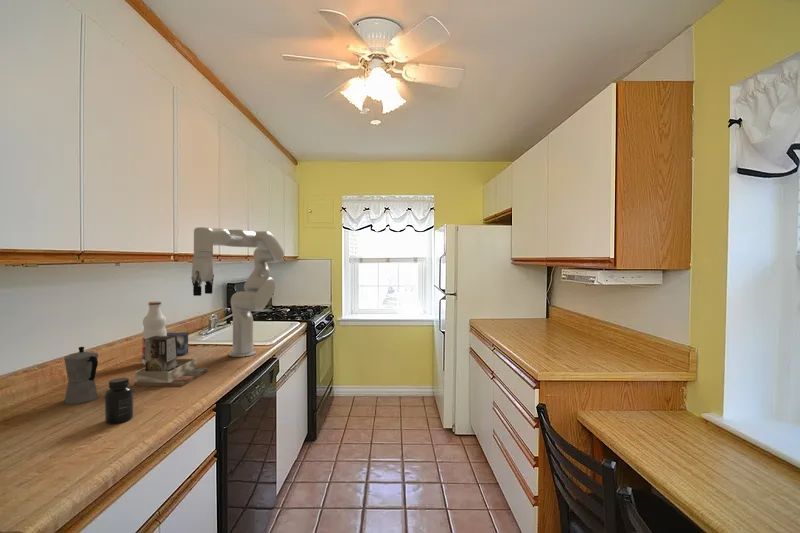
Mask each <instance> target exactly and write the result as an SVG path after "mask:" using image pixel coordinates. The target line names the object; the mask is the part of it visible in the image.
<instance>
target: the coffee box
mask: <svg viewBox="0 0 800 533" xmlns="http://www.w3.org/2000/svg"><path fill="white" fill-rule="evenodd" d="M177 359H178V356H177V336H153V337H150V338H147V339H145V365H144V366H145V367H144V368H145V371H162V372H169V371H171V370H173V369H175V368H177Z"/></svg>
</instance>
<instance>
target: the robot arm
mask: <svg viewBox="0 0 800 533" xmlns="http://www.w3.org/2000/svg"><path fill="white" fill-rule="evenodd" d="M214 246H225V247H232V248H233V247H235V248H255V250H254V251H253V261H254V269H253V271H252V272H251V274H250V275H249V277H247V279H246V281H245V283H244V284H243V285H244V286H243V289H244V291H237V292H235V293H234V294H232V295H231V298H230V306H231V311H232V351H230V352H229V354H228V356H230V357H234V358H241V357H242V358H244V357H245V356H246V357H249V356H251V357H252V356H253V355H256V354H257V350H256V349H254V345H255V343H254V317H253V314H252V312H261V311H263V310H264V309H265V308H266V306H267V305H268V304H269V302H270V300H271V298H272V296H273V295H274V293H275V291H276V284H277V283H276V281H275V279H274V278H273V277H272V276H271V277H270V275H271V270H270V268H269V265H268V263H280V262H282V261H283V260H284V257H285V253H284V252H285V251H284V249H283V248H282V246H281V245H280V243H279V241H278V240H277V239H276V236H274V235H273V233H271V232H270V231H269V230H266V231H265V230H263V231H261V230H258V231H257V230H255V231H254V230H246V229H245V230H244V229H225V228H210V227H194V229H193V259H192V268H191V282H192V286H193V287H192V288H193V289H192V292H193V296H194V297H196V296H197V297H201V296H202V283H203V282H204V283H205V284H204V294H207V295H208V294H211V295H212V294H213V289H214V288H213V287H214V286H213V285H214V280H215V279H214V277H215V274H214V271H213V270H214V265H213V259H214Z"/></svg>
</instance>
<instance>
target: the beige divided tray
mask: <svg viewBox="0 0 800 533" xmlns="http://www.w3.org/2000/svg"><path fill="white" fill-rule="evenodd" d="M197 361H198V360H197V358H177V368H175V369H173V370H171V371H169V372H162V371H145V367H143V368H141V369H139V370H136V371H134V386H135V387H137V386H139V387H183V386H185V385H187V384H189V383H190V382H192V381H194V380H196V379H197V378H199V377H200V376H201V377H202V376H203V375H204V374H206V373H209V367H197V365H198V364H197V363H198V362H197Z"/></svg>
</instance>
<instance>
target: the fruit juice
mask: <svg viewBox="0 0 800 533" xmlns="http://www.w3.org/2000/svg"><path fill="white" fill-rule="evenodd" d="M161 306H162V301H148V307H149V308H148V312H147V314H146V316H144V318H143V319H142V325H143V330H142V335H141V336H142V341H141V342H142V344H141V345H142V348H141V349H142V350H141V351H142V356H141V358H142V360H141V361H142V364H143V365H144V366H145V339H147V338H150V337H153V336H167V333H168V332H167V331H168V330H167V327H166V325H167V317H166V316H165V315H164V314H163V312H162V308H161Z"/></svg>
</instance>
